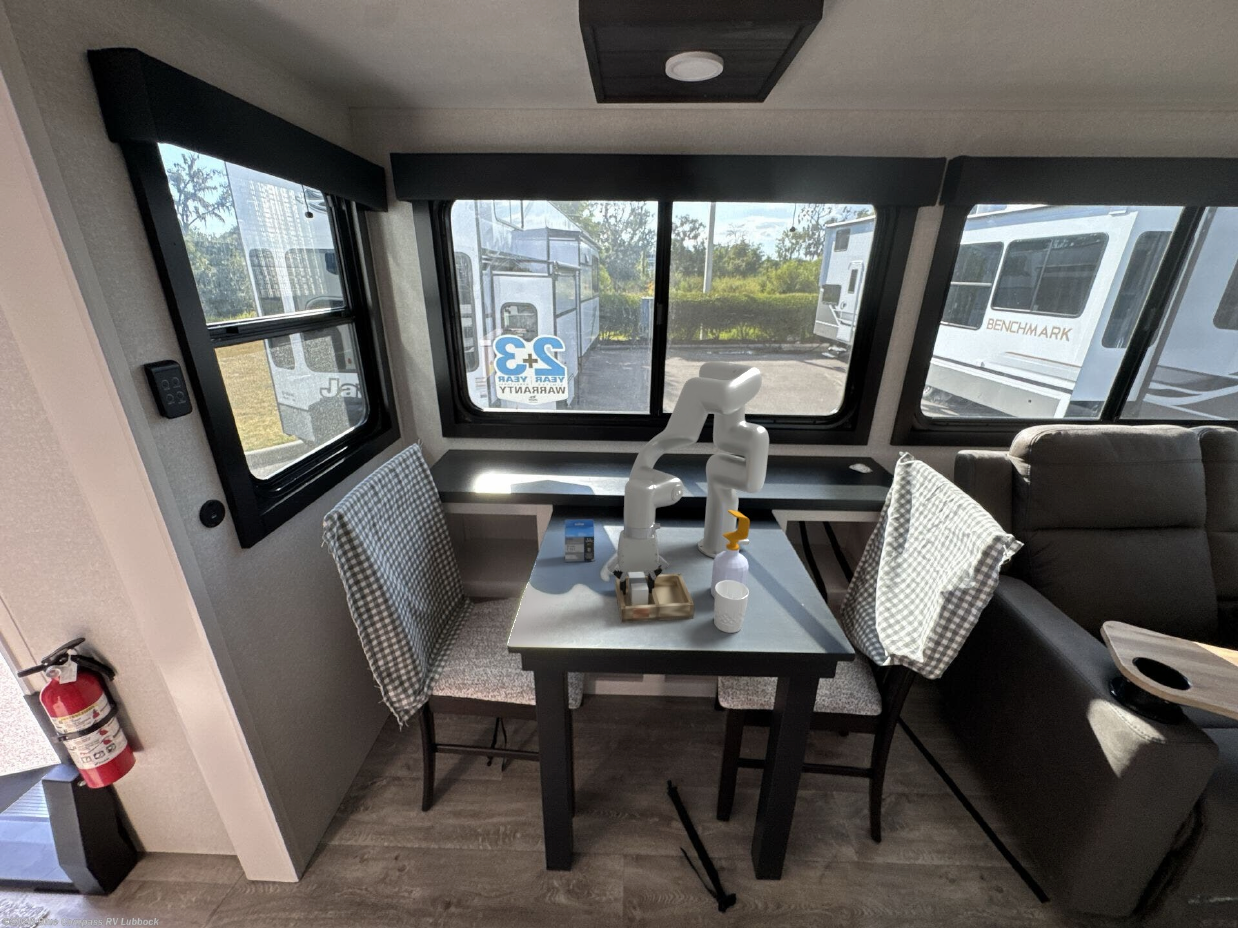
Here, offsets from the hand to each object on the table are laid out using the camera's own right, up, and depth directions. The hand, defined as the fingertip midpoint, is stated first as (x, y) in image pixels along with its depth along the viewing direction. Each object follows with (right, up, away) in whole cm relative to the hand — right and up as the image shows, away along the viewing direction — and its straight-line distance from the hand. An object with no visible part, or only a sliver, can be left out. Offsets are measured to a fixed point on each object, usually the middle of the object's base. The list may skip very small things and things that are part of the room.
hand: (636, 590), depth 122 cm
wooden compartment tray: (+4, -4, +2) cm, 6 cm away
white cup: (+22, -7, -5) cm, 24 cm away
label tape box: (-17, +4, +22) cm, 28 cm away
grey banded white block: (0, -3, +1) cm, 3 cm away
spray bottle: (+25, -3, +6) cm, 26 cm away
